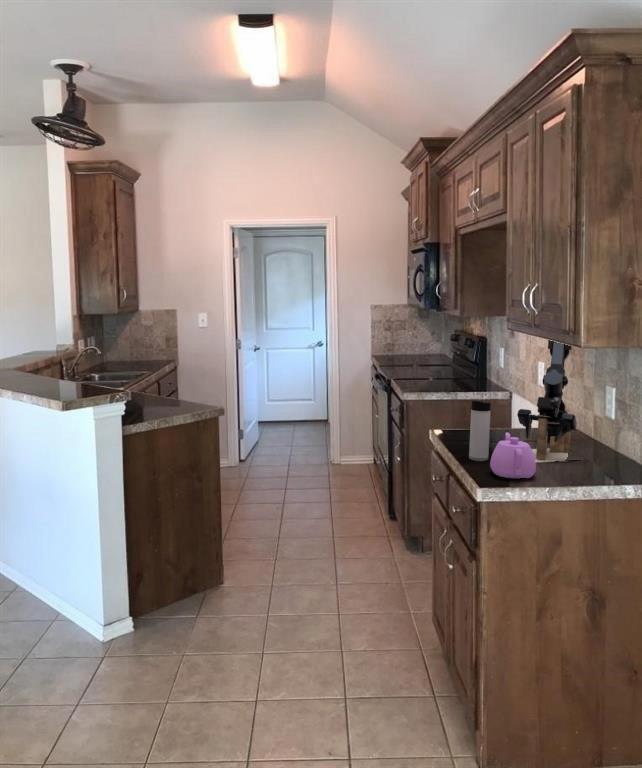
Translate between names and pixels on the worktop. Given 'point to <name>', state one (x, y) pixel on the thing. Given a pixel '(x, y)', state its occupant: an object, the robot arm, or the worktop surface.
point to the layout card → (551, 456)
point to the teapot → (513, 459)
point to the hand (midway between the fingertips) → (540, 439)
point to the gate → (541, 438)
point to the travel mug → (479, 431)
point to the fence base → (560, 443)
